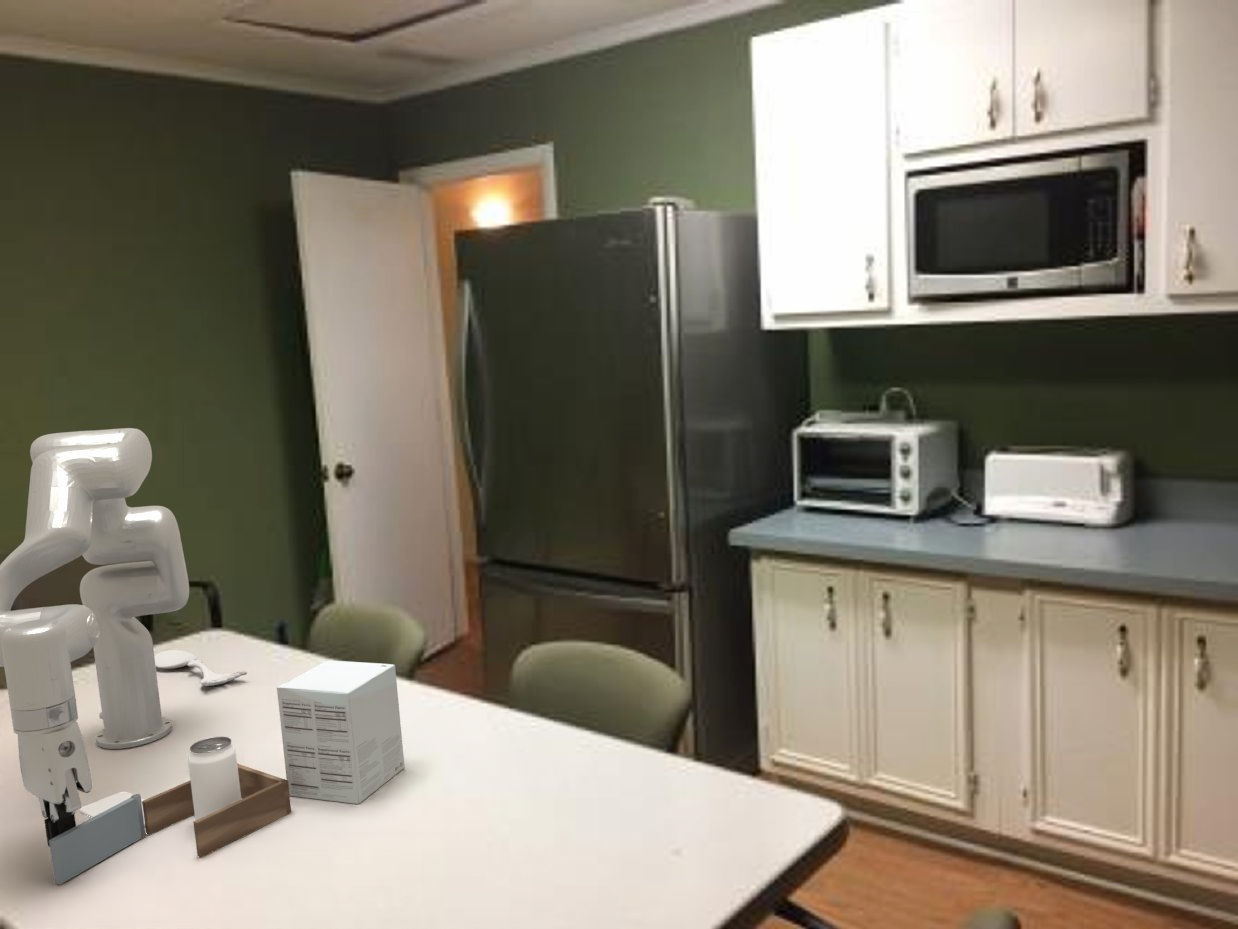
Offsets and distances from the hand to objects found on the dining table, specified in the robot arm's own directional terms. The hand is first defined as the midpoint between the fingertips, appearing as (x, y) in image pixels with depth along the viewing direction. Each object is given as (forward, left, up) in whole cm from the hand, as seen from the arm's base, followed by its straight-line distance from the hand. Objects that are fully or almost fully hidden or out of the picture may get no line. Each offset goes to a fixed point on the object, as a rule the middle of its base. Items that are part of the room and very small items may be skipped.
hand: (63, 843), depth 138 cm
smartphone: (-9, +13, -4) cm, 17 cm away
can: (+7, +19, -4) cm, 20 cm away
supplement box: (+13, +37, -4) cm, 40 cm away
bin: (+7, +18, -4) cm, 20 cm away
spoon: (-59, +57, -4) cm, 82 cm away
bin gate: (+2, +4, -4) cm, 6 cm away
